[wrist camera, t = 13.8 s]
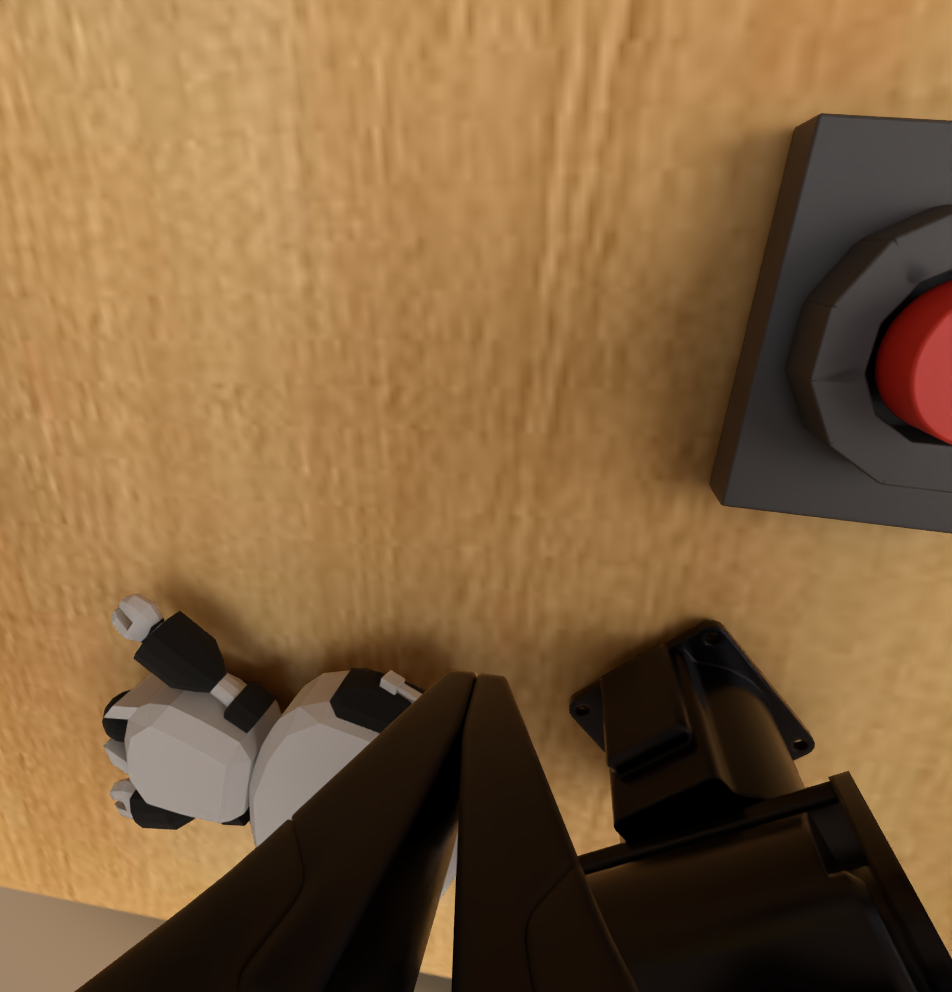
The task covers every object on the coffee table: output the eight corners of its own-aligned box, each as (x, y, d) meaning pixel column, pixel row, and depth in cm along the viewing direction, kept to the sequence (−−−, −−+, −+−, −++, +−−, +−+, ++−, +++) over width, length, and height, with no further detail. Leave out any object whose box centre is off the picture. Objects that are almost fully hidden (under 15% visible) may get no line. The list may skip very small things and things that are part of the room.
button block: (975, 518, 19) (1060, 573, 15) (708, 486, 19) (736, 532, 16) (1133, 146, 15) (1290, 116, 12) (794, 126, 16) (852, 92, 12)
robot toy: (153, 763, 29) (448, 880, 27) (76, 846, 25) (419, 989, 23) (164, 544, 24) (523, 670, 23) (71, 601, 20) (502, 759, 18)
